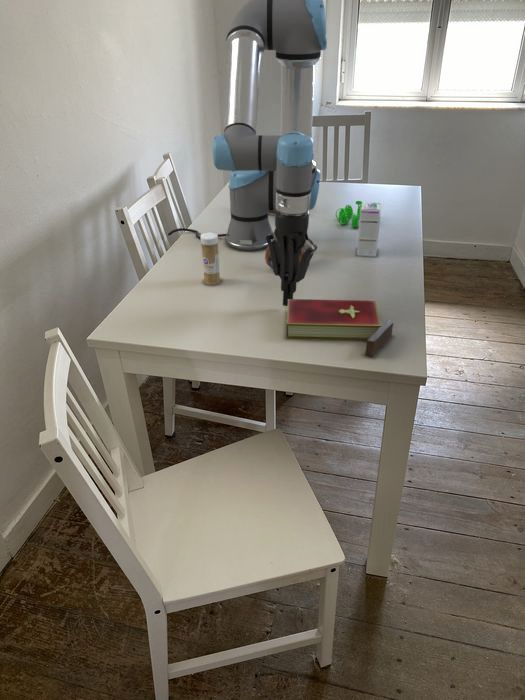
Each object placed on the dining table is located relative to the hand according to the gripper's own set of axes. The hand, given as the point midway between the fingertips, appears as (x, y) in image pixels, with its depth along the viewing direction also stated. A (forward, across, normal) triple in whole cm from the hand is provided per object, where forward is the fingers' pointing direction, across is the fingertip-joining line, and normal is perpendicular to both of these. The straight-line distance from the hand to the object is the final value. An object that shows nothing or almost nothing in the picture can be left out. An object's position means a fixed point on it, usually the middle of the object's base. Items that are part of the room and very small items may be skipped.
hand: (287, 303), depth 130 cm
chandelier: (+2, -14, +63) cm, 65 cm away
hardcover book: (+2, +13, 0) cm, 13 cm away
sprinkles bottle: (+3, -26, +1) cm, 26 cm away
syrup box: (+2, 0, +42) cm, 42 cm away
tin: (+2, -14, +21) cm, 25 cm away
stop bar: (+1, +26, -2) cm, 26 cm away
